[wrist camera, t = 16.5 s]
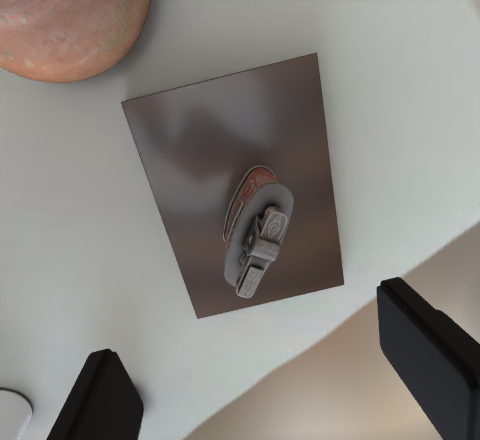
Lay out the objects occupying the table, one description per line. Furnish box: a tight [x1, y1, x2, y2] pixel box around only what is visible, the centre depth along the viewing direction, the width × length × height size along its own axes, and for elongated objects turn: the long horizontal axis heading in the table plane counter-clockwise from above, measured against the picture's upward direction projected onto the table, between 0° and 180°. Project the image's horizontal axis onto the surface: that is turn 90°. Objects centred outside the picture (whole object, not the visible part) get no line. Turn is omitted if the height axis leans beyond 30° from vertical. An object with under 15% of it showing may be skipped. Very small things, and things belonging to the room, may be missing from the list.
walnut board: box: [121, 53, 344, 319], centre depth 27 cm, size 22×16×1 cm
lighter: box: [223, 164, 294, 298], centre depth 22 cm, size 8×3×10 cm, turn 159°
